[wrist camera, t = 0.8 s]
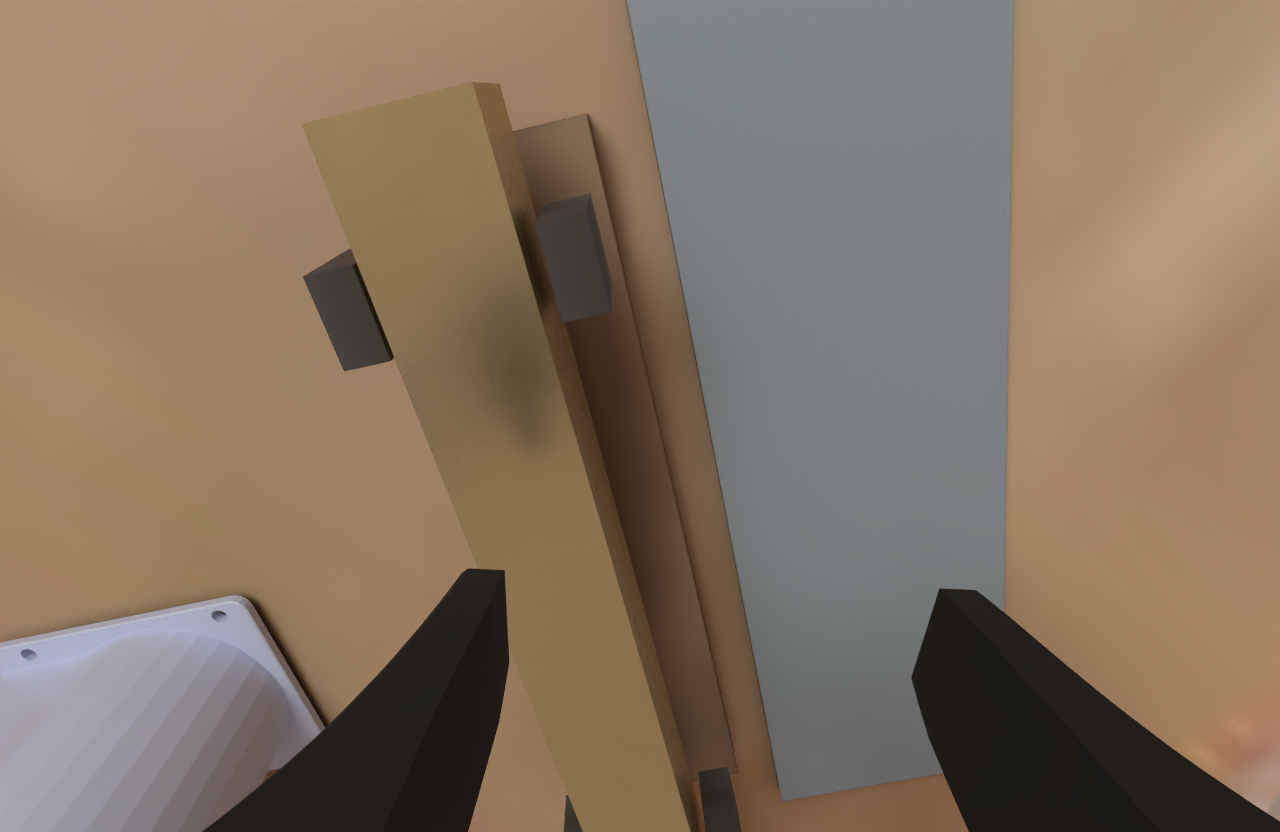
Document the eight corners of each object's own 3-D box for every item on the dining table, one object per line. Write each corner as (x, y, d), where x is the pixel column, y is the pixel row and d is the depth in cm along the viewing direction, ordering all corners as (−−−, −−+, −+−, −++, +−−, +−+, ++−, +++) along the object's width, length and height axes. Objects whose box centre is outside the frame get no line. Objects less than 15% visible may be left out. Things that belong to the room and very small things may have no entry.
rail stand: (588, 772, 28) (583, 934, 23) (365, 167, 18) (258, 200, 13) (733, 746, 28) (762, 904, 22) (587, 113, 18) (576, 123, 12)
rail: (632, 868, 25) (634, 961, 23) (360, 117, 14) (301, 123, 12) (711, 854, 25) (723, 946, 22) (499, 83, 14) (472, 82, 11)
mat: (779, 787, 29) (782, 801, 28) (618, -37, 16) (618, -41, 16) (993, 750, 28) (1001, 762, 28) (1001, -134, 16) (1015, -141, 15)
